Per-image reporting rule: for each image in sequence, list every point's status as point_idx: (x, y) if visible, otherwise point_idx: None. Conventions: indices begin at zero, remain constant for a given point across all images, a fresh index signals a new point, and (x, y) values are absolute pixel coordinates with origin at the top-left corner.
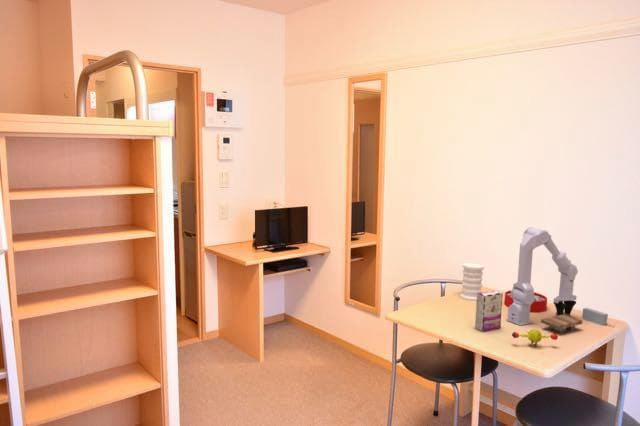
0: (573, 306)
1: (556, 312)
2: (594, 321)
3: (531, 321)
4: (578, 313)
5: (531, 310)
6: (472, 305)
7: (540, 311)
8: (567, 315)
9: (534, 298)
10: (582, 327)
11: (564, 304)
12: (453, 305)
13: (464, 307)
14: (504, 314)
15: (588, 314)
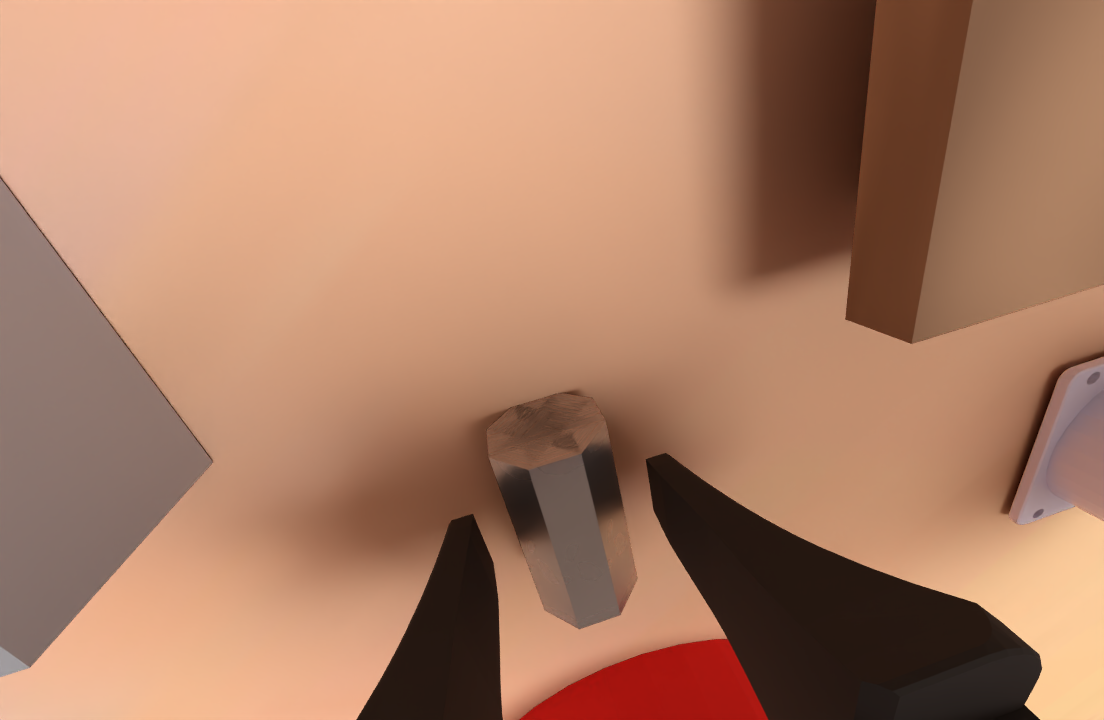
0: (363, 713)
1: (630, 589)
2: (10, 234)
3: (1086, 382)
4: (119, 659)
5: None
6: None
7: (660, 661)
8: (594, 455)
9: None
10: (582, 12)
11: (999, 663)
12: (1090, 701)
13: (1079, 681)
14: (1015, 583)
15: (14, 441)
